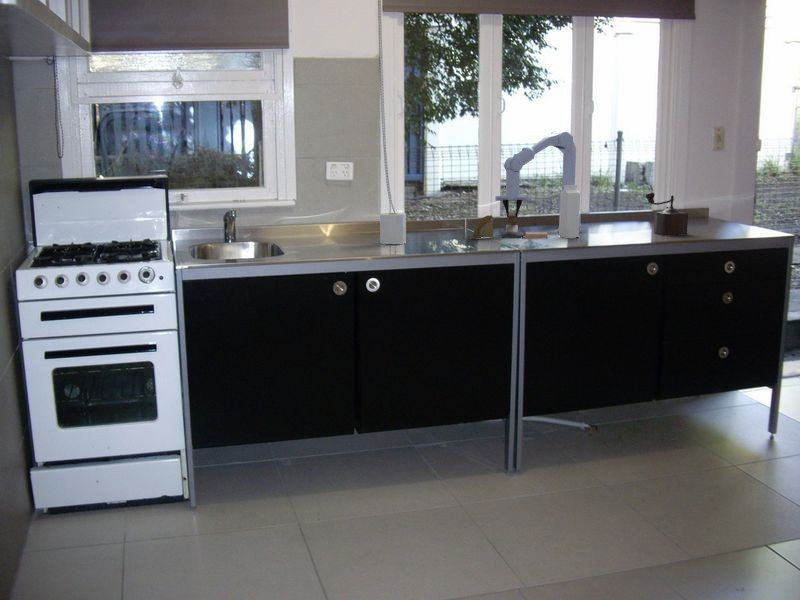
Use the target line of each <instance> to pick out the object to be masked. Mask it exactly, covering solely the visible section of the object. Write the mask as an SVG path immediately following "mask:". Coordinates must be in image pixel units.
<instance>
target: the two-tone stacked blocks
mask: <svg viewBox="0 0 800 600" xmlns="http://www.w3.org/2000/svg"><path fill="white" fill-rule="evenodd" d="M518 228H519V225H518V224H517V218H516V211H515V212H514V211H513V212H510V211H509V218H508V224H506V225H505V231H504V232H505V233H511V234H517V232H519V231H518V230H519V229H518Z"/></svg>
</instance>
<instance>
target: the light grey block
mask: <svg viewBox="0 0 800 600" xmlns="http://www.w3.org/2000/svg"><path fill="white" fill-rule="evenodd" d="M406 216H407V214H406V213H404V212H383V213H380V214H379V231H380V232H379V234H380V235H379V240H380V241H379V244H381V243H382V244H381V245H385V244H400V245H405V244H406V243H407V223H406V222H407V217H406ZM404 243H405V244H404Z"/></svg>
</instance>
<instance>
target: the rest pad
mask: <svg viewBox="0 0 800 600" xmlns="http://www.w3.org/2000/svg"><path fill="white" fill-rule="evenodd" d="M524 235H525V232H524V231H518V232H517V234H511V233H505V231H503V232H502V234H501V238H502V237H513V238H512V239H524ZM521 237H522V238H521Z"/></svg>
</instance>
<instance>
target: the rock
mask: <svg viewBox="0 0 800 600" xmlns="http://www.w3.org/2000/svg"><path fill="white" fill-rule="evenodd" d="M493 226H494V218H493V216H492V214H491V215H489V214H488V215H486V216H484V217H482V218H480V219H479V222H478V224H477V226H476V227H475V228H474V230H473V234H472V237H471V239H472V240H477V239H476V238H481V237H493V238H494V230H493V229H494V228H493Z"/></svg>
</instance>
